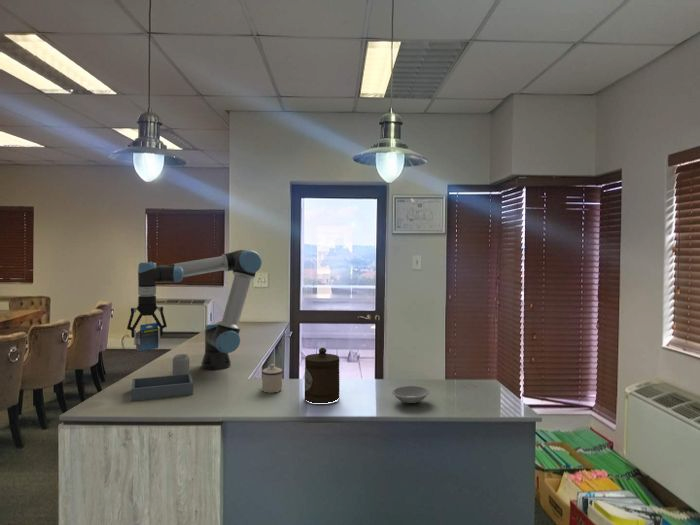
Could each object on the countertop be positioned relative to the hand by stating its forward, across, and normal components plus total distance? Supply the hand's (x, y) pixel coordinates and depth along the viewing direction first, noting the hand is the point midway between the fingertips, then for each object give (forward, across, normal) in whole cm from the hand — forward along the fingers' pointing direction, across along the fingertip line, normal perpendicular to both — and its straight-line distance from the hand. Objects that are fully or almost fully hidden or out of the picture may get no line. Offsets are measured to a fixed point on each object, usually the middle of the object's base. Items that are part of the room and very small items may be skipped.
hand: (147, 343), depth 203 cm
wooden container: (+19, +68, -51) cm, 87 cm away
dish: (+20, +101, -69) cm, 124 cm away
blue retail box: (+3, 0, 0) cm, 3 cm away
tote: (+19, +6, -17) cm, 26 cm away
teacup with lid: (+19, +51, -30) cm, 62 cm away
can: (+19, +15, 0) cm, 24 cm away
